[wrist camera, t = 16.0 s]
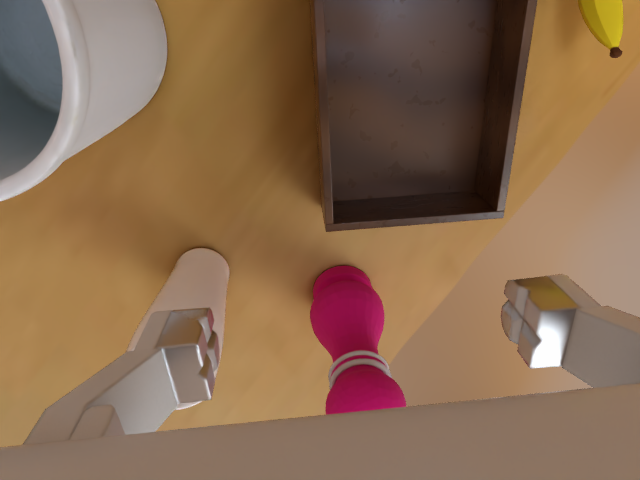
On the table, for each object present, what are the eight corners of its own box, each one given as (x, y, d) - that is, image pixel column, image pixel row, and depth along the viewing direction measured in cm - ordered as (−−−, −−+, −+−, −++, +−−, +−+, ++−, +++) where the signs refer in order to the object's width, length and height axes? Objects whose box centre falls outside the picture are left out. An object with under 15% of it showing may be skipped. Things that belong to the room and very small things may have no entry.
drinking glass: (209, 226, 42) (173, 325, 28) (250, 276, 45) (235, 386, 31) (155, 260, 43) (96, 369, 30) (198, 306, 46) (162, 424, 33)
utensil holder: (-73, 10, 32) (-410, 4, 17) (59, -140, 29) (-208, -323, 13) (87, 162, 38) (-51, 262, 23) (213, 53, 35) (152, 82, 19)
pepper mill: (370, 254, 44) (426, 412, 27) (379, 310, 48) (433, 483, 30) (302, 268, 45) (311, 433, 27) (315, 322, 48) (331, 501, 30)
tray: (305, -78, 31) (308, -96, 26) (513, -90, 32) (554, -109, 27) (321, 206, 42) (325, 232, 37) (478, 194, 42) (503, 218, 37)
